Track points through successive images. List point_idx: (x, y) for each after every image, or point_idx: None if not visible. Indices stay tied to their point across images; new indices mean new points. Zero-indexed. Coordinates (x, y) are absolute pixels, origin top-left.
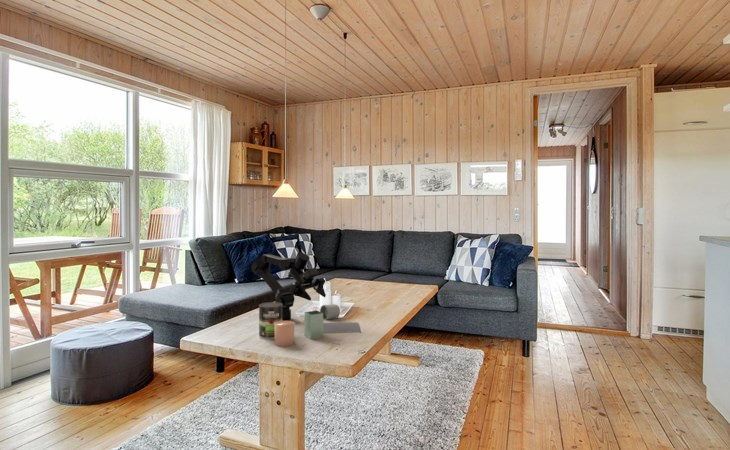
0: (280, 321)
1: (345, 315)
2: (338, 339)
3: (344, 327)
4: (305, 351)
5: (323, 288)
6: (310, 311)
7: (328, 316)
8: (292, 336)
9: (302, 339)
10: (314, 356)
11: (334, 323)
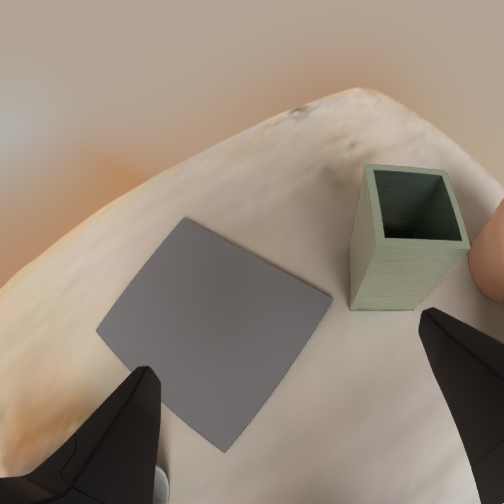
0: None
1: None
2: (301, 205)
3: (181, 307)
4: None
5: (59, 448)
6: (431, 241)
7: None
8: (490, 217)
9: None
10: (426, 141)
11: (172, 396)
